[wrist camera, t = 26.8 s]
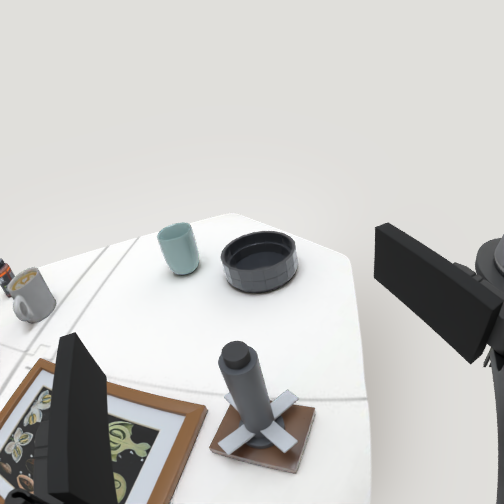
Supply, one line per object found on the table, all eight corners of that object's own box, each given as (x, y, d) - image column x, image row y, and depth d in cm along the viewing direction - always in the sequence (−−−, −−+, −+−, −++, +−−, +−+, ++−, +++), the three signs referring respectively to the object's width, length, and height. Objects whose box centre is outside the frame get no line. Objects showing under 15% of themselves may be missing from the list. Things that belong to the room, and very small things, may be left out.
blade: (266, 380, 42) (244, 294, 34) (326, 426, 34) (325, 344, 26) (202, 428, 37) (155, 351, 29) (257, 485, 29) (221, 428, 21)
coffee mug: (38, 298, 73) (21, 268, 68) (62, 297, 72) (44, 265, 67) (14, 331, 62) (-7, 300, 57) (37, 333, 61) (15, 299, 55)
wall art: (39, 357, 51) (205, 405, 40) (43, 362, 52) (208, 410, 41) (-36, 468, 27) (121, 599, 15) (-31, 472, 27) (127, 599, 16)
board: (315, 413, 37) (315, 407, 37) (296, 473, 31) (295, 469, 30) (237, 398, 42) (235, 393, 41) (211, 452, 35) (208, 447, 34)
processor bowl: (305, 253, 70) (302, 231, 67) (287, 298, 58) (283, 274, 56) (242, 251, 75) (237, 230, 73) (215, 291, 64) (208, 269, 61)
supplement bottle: (19, 284, 83) (3, 254, 77) (22, 289, 79) (5, 258, 74) (5, 293, 79) (-11, 264, 74) (8, 299, 76) (-10, 269, 70)
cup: (202, 275, 70) (189, 235, 64) (168, 282, 70) (153, 243, 65) (203, 257, 76) (192, 219, 71) (172, 263, 76) (160, 226, 71)
